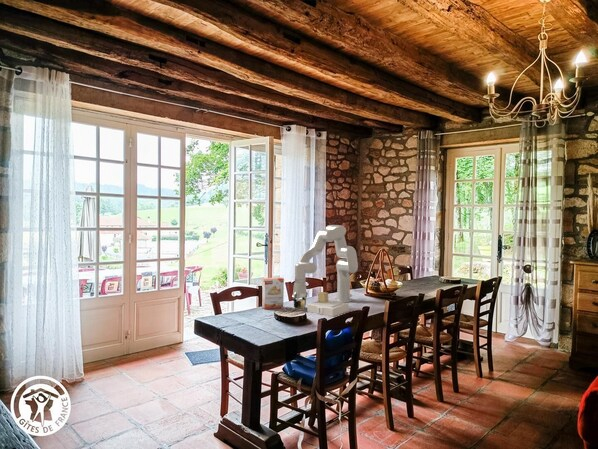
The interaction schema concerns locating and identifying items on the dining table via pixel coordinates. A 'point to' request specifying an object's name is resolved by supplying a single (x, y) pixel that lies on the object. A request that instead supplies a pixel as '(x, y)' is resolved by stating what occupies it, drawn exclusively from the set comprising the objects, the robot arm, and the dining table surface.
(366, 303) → the dining table surface
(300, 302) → the brass weight
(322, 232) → the robot arm
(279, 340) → the dining table surface
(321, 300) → the brass weight
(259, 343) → the dining table surface
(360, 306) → the dining table surface
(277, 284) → the cracker box
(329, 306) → the kitchen scale
